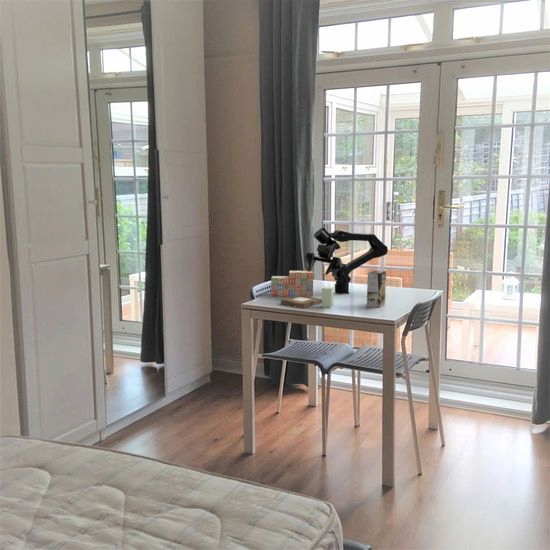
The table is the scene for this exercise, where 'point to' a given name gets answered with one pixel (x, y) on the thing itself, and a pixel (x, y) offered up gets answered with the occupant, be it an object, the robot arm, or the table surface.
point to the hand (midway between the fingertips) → (317, 272)
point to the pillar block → (327, 296)
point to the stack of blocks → (293, 284)
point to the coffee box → (376, 288)
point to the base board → (301, 301)
